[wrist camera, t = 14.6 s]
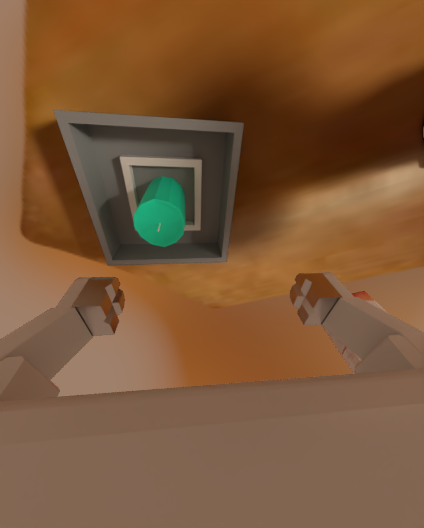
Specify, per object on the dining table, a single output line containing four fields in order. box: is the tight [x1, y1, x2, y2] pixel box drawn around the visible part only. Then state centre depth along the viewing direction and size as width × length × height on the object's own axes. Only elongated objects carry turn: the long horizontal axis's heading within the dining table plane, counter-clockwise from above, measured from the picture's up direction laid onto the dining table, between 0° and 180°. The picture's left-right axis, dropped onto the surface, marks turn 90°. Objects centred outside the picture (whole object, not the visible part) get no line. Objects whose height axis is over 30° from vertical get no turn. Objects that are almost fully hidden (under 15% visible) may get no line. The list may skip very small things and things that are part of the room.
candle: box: [134, 176, 185, 247], centre depth 26 cm, size 6×6×12 cm
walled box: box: [53, 110, 244, 265], centre depth 29 cm, size 20×20×6 cm
